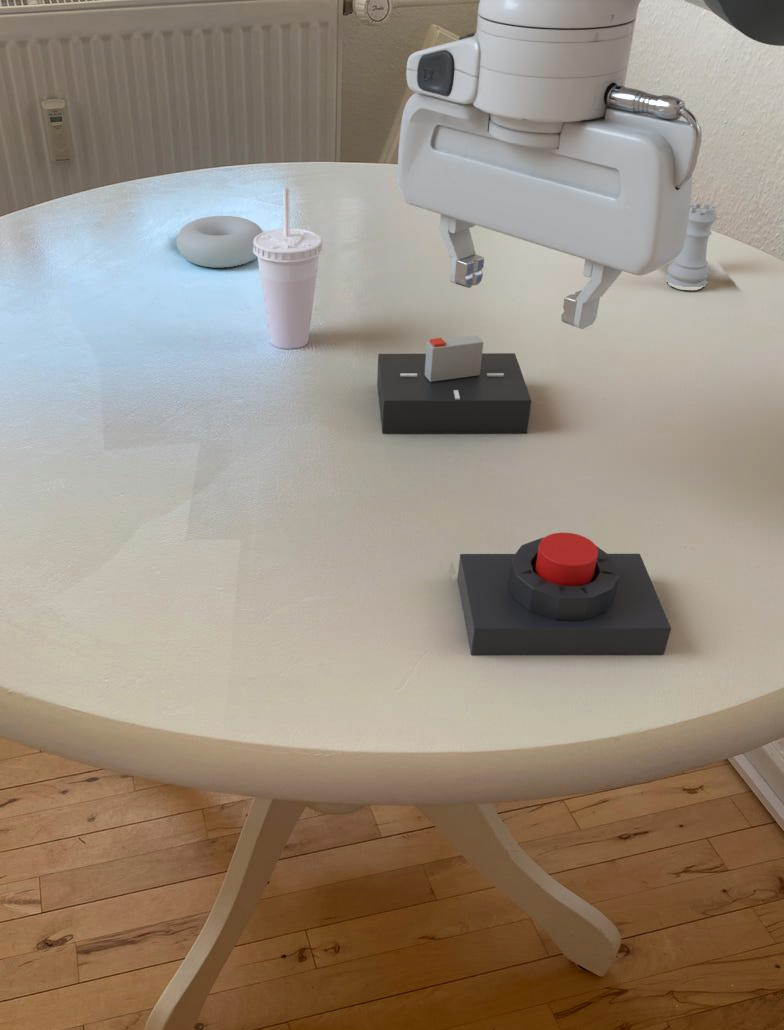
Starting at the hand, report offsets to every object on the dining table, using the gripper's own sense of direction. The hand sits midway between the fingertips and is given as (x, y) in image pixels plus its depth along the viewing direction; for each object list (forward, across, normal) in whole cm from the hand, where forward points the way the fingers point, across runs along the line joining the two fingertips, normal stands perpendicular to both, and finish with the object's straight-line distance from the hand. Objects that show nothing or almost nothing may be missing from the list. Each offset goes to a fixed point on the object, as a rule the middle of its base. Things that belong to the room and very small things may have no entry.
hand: (519, 302), depth 71 cm
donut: (+15, +54, -17) cm, 59 cm away
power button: (+12, -12, +9) cm, 19 cm away
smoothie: (+15, +32, -8) cm, 36 cm away
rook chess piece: (+15, +13, -48) cm, 52 cm away
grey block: (+12, +12, -8) cm, 19 cm away
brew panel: (+15, +12, -8) cm, 21 cm away
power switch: (+15, -12, +8) cm, 21 cm away
